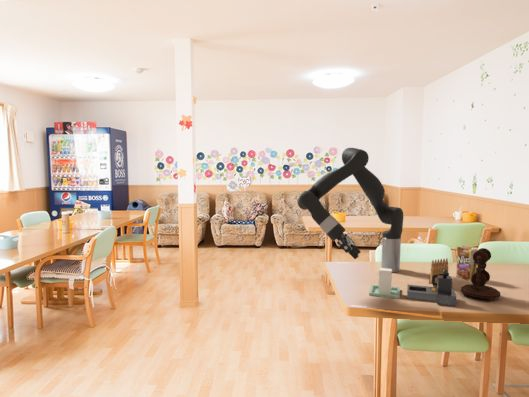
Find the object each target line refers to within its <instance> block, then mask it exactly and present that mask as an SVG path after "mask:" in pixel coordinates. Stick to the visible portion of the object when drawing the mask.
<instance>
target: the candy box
mask: <svg viewBox="0 0 529 397" xmlns="http://www.w3.org/2000/svg"><path fill="white" fill-rule="evenodd" d="M478 250H479V249H475V248H472V247H467V246H464V245H461V246H457V247H456V272H455V276H456V278H460V279H461V280H465V281H467V282H471V283H472V281H471V276H472V271H473V267H474V260H473V254H474V253H475V252H476V251H478ZM477 267H478V266H477V264H476V268H477ZM476 268H475V273H476V272H477V271H476Z"/></svg>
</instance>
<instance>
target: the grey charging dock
mask: <svg viewBox="0 0 529 397" xmlns="http://www.w3.org/2000/svg"><path fill="white" fill-rule="evenodd" d="M406 286H407V287H406V288H407V290H406V293H407V294H406V296H407V297H406V298H407V300H415V301H425V302H433V303H436V305H439V306H447V307H448V306H449V307H457V297H458V296H457V294H456V291H455V289H454V288H452V287H453V278H452V276H450V275H449V276H447V270H446V269H443V276H441V275H438V280H437V286H427V285H418V284H417V285H416V284H415V285H414V284H407V285H406Z"/></svg>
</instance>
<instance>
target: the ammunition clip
mask: <svg viewBox="0 0 529 397" xmlns="http://www.w3.org/2000/svg"><path fill="white" fill-rule="evenodd" d="M443 269H446V270H447V276H450V274H449V273H450V272H449V260H448V257H446V258H443V259H442V258H440V259H432V261H431V265H430V273H429V279H428V280H429V281H428V282H429V283H428V284H429V285H432V287H437V280H438V275H441V276H443Z"/></svg>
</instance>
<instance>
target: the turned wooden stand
mask: <svg viewBox="0 0 529 397" xmlns="http://www.w3.org/2000/svg"><path fill="white" fill-rule="evenodd" d="M477 250H478V251H476V252H475V253H474V254H473V260H474V267H473V271H472V276H471V283H467V284H464V285H462V286H461V287H460V292H461V293H462V294H463V297H465V298H466V297H467V296H470V297H473V298H478V299H479V298H480V299H485V300H489V302H492V301H493V299H498V298H500V297H501V291H499V290H498V289H497V288H495V287H492V286H489V285H486V284H487V282H489V280H490V279H491V274H490V273H489V271H487V270H486V268H487V263H488V261H490V260H491V259H492V253H491V251H490V250H489V249H487V248H485V247H484V248H483V247H482V248H478V249H477ZM476 264H477V268H476ZM475 268H476V271H477V272H476V273H475Z"/></svg>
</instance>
